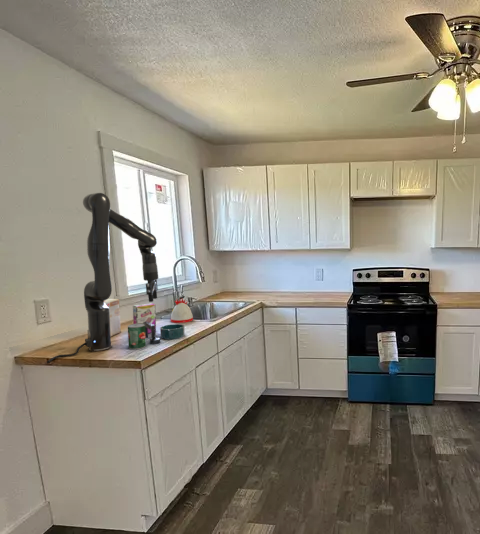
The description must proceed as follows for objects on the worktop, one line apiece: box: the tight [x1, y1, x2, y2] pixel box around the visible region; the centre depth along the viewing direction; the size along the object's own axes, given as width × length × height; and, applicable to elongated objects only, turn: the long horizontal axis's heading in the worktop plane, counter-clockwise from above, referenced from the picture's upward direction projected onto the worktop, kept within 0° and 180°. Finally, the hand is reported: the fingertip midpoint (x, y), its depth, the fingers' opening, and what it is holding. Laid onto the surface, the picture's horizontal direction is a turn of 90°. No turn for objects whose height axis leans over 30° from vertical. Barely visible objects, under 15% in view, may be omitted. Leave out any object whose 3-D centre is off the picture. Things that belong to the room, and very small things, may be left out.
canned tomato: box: [127, 323, 147, 350], centre depth 172 cm, size 8×8×11 cm
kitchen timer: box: [170, 297, 194, 324], centre depth 229 cm, size 14×14×15 cm
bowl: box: [159, 323, 186, 340], centre depth 190 cm, size 12×13×6 cm
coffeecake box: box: [104, 298, 122, 337], centre depth 193 cm, size 15×7×20 cm, turn 175°
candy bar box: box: [132, 302, 157, 334], centre depth 197 cm, size 11×5×16 cm, turn 141°
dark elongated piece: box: [143, 321, 161, 345], centre depth 183 cm, size 16×5×9 cm, turn 43°
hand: (153, 300), depth 192 cm, fingers open, 8 cm apart
